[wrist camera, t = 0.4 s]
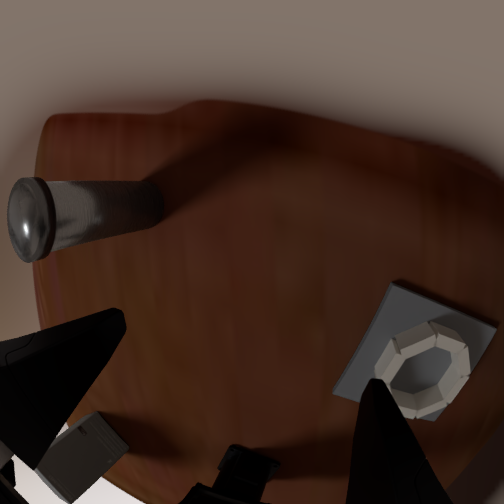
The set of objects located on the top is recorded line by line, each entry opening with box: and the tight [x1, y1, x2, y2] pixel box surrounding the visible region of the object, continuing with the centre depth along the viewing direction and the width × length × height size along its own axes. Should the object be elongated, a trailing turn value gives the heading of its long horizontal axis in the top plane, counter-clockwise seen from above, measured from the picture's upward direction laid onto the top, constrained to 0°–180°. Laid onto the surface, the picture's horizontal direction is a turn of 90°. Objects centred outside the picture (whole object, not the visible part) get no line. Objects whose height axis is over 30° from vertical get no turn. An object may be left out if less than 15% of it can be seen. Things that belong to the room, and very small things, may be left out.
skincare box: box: [34, 411, 129, 504], centre depth 28 cm, size 8×7×16 cm
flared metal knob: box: [7, 177, 164, 263], centre depth 19 cm, size 5×5×13 cm
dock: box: [333, 282, 497, 421], centre depth 19 cm, size 11×12×3 cm
